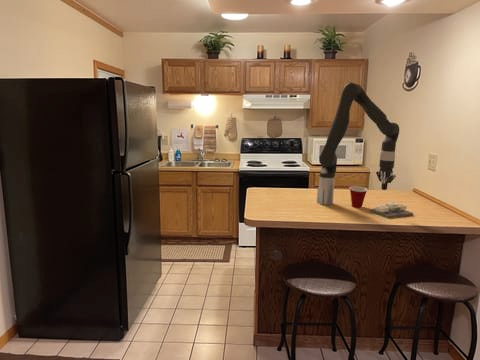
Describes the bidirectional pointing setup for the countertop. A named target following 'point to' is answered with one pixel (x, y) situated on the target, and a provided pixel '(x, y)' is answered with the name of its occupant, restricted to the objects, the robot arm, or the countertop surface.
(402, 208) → the key
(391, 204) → the key
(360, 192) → the plastic cup
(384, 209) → the key
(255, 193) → the countertop surface
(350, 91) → the robot arm
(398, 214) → the keypad board
